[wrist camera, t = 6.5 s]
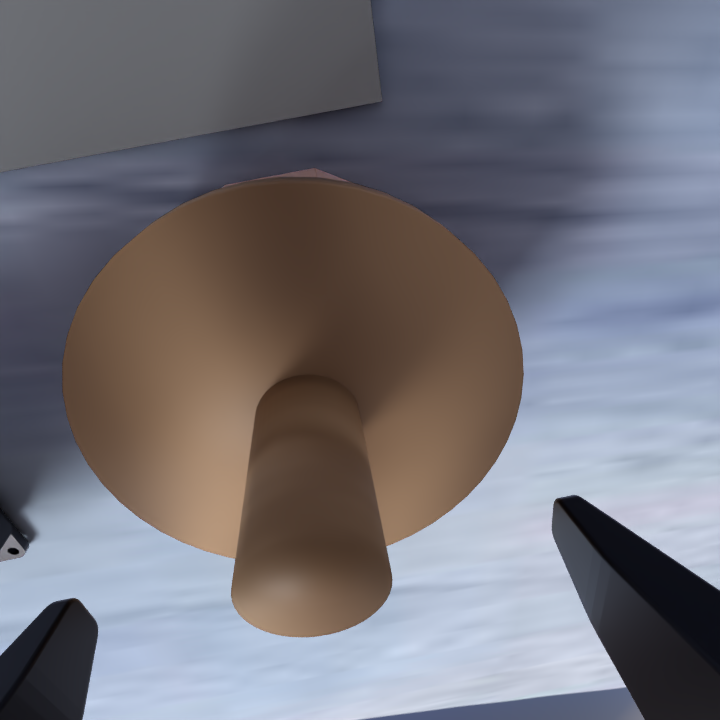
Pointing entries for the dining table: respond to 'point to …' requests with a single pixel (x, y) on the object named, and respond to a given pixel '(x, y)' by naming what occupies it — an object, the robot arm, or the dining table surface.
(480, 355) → the lid
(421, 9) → the dining table surface
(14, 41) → the mat
